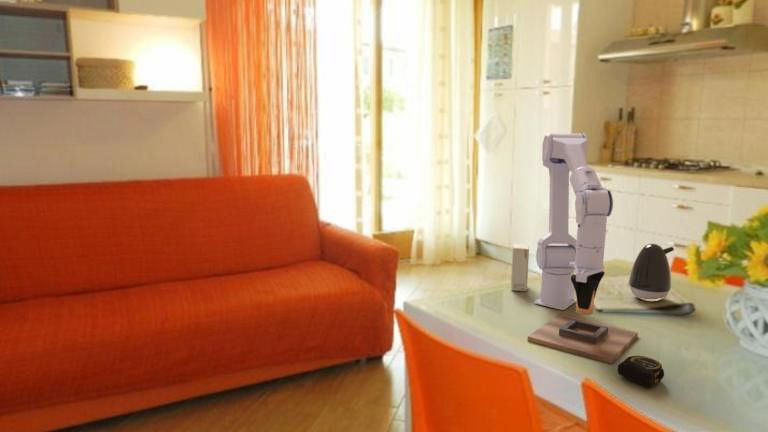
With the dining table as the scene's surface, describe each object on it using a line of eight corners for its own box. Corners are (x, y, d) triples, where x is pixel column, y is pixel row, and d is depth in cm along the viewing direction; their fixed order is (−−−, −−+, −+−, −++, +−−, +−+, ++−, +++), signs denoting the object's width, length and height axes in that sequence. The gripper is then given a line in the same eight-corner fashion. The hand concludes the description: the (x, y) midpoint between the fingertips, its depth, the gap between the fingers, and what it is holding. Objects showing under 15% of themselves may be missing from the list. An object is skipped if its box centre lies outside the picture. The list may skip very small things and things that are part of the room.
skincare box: (527, 292, 157) (529, 249, 154) (511, 291, 157) (513, 248, 155) (526, 285, 163) (528, 243, 161) (510, 284, 164) (512, 243, 161)
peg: (578, 308, 126) (579, 286, 126) (594, 310, 125) (596, 289, 124) (574, 312, 123) (575, 290, 123) (591, 315, 122) (592, 293, 121)
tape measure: (614, 378, 107) (616, 360, 106) (635, 369, 111) (637, 351, 110) (648, 393, 102) (650, 374, 101) (669, 383, 105) (671, 364, 105)
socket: (559, 317, 138) (560, 307, 137) (637, 336, 126) (638, 325, 126) (527, 340, 124) (528, 329, 123) (611, 364, 113) (612, 352, 112)
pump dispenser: (677, 305, 147) (683, 248, 144) (637, 305, 147) (642, 248, 144) (659, 292, 157) (664, 239, 154) (621, 292, 157) (626, 239, 154)
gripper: (578, 236, 129) (574, 293, 132) (562, 249, 117) (558, 312, 120) (611, 240, 126) (606, 298, 128) (598, 254, 113) (593, 318, 116)
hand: (585, 305), depth 124 cm, fingers closed on peg, 4 cm apart
